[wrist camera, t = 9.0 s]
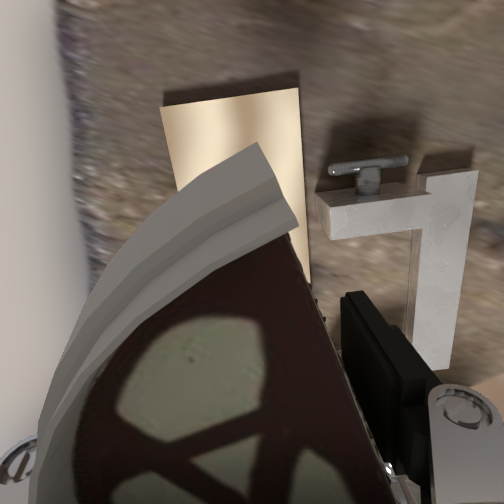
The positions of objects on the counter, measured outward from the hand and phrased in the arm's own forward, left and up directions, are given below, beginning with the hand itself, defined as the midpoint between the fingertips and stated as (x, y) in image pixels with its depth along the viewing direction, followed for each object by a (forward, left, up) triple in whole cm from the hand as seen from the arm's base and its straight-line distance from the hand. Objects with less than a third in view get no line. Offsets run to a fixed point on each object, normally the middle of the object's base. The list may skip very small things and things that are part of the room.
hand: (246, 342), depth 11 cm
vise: (-12, +7, -17) cm, 22 cm away
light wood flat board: (0, 0, -17) cm, 17 cm away
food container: (0, 0, -4) cm, 4 cm away
